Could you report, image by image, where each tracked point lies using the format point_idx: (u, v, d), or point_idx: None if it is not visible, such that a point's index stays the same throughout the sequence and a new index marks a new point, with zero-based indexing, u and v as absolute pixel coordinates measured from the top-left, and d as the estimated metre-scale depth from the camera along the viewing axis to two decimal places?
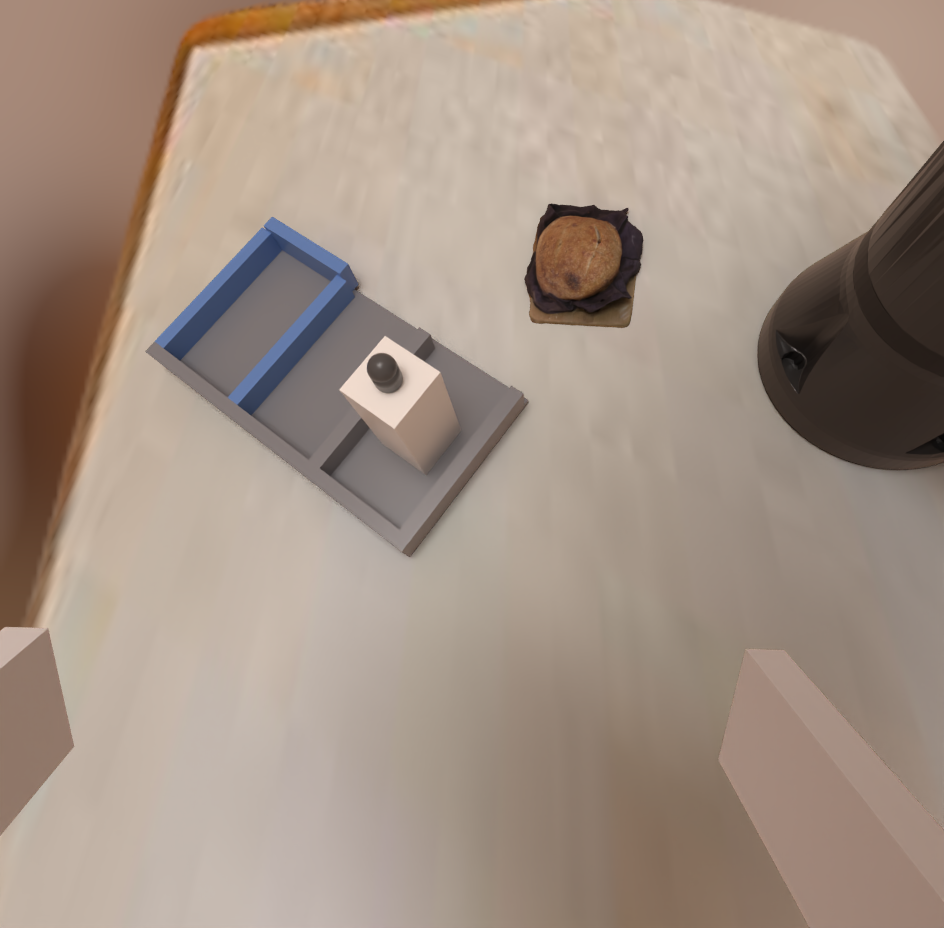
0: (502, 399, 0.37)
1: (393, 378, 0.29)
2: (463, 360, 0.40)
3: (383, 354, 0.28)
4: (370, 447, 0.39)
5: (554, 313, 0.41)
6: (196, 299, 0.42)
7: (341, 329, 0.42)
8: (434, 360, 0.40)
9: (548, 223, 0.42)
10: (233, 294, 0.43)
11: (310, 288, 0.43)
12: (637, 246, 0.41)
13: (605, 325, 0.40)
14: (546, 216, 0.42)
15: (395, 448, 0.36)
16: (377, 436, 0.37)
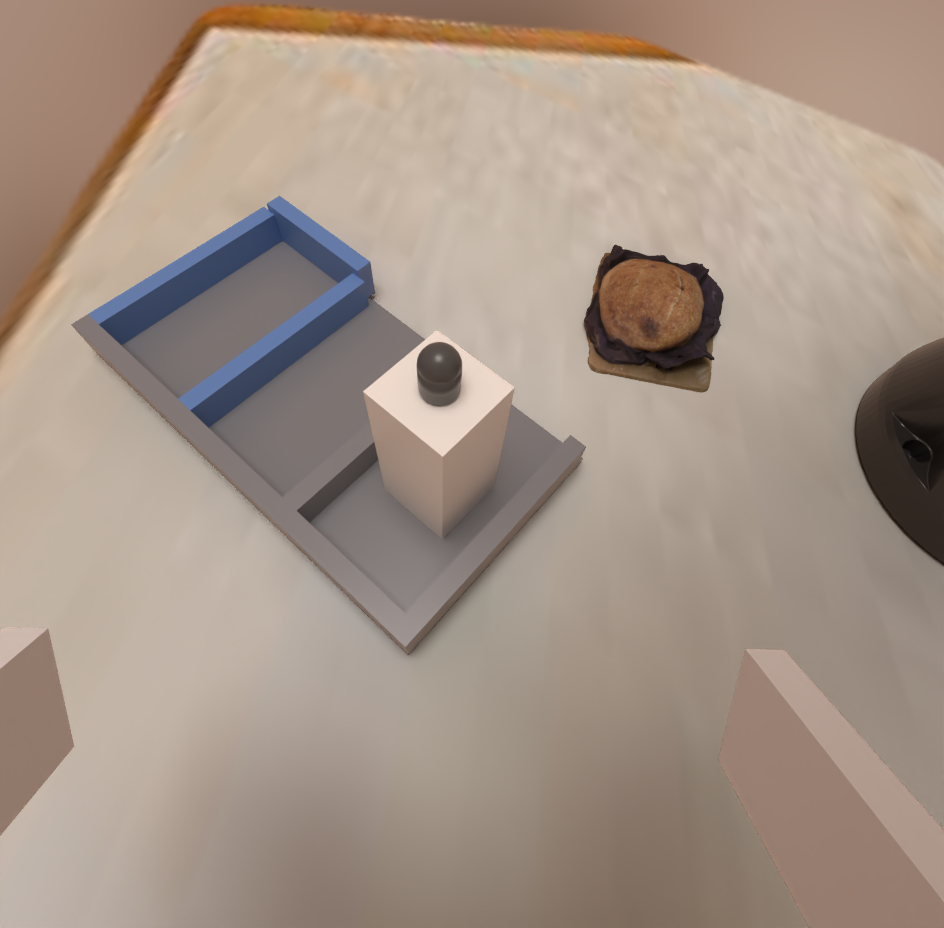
0: (558, 450, 0.28)
1: (454, 381, 0.19)
2: None
3: (446, 344, 0.19)
4: (368, 493, 0.28)
5: (619, 364, 0.33)
6: (159, 272, 0.32)
7: (346, 340, 0.33)
8: None
9: (614, 264, 0.36)
10: (210, 278, 0.33)
11: (312, 288, 0.34)
12: (717, 303, 0.35)
13: (680, 386, 0.33)
14: (613, 255, 0.35)
15: (410, 496, 0.26)
16: (385, 477, 0.27)
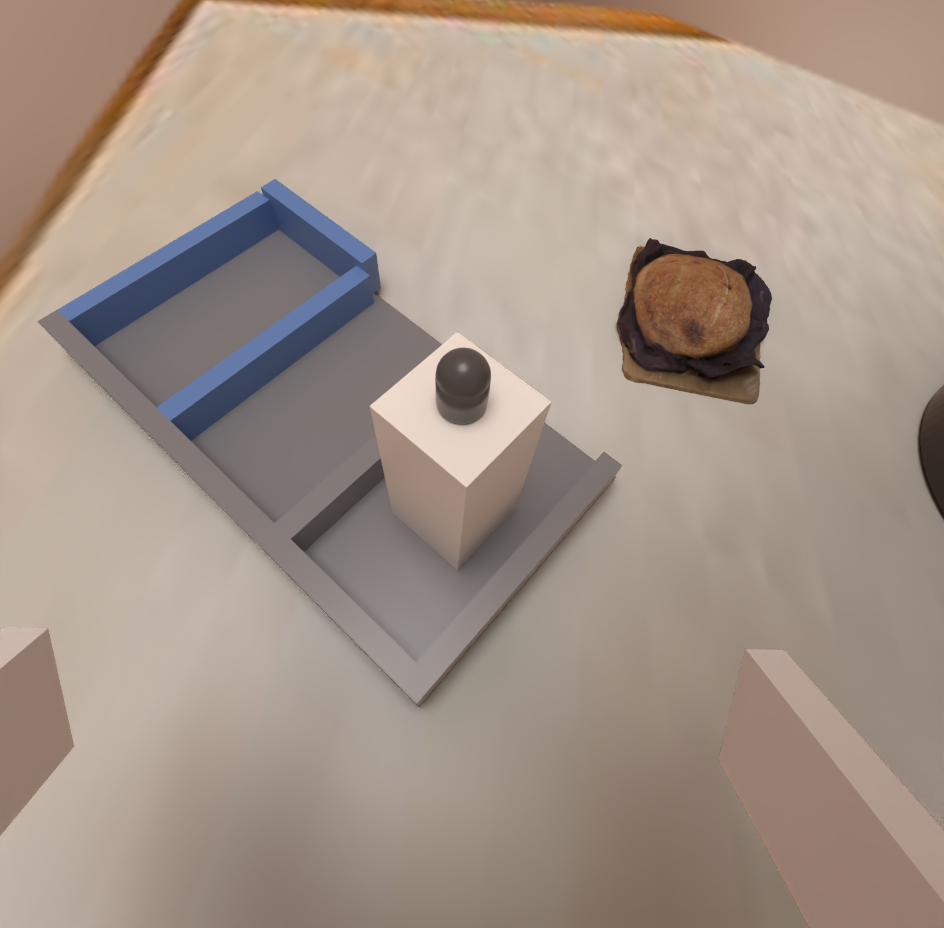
0: (591, 469, 0.24)
1: (481, 396, 0.16)
2: None
3: (472, 350, 0.15)
4: (373, 516, 0.25)
5: (657, 372, 0.29)
6: (139, 263, 0.28)
7: (349, 341, 0.29)
8: None
9: (650, 260, 0.32)
10: (197, 270, 0.30)
11: (311, 282, 0.31)
12: (765, 305, 0.31)
13: (725, 397, 0.29)
14: (649, 250, 0.32)
15: (422, 522, 0.22)
16: (392, 500, 0.23)
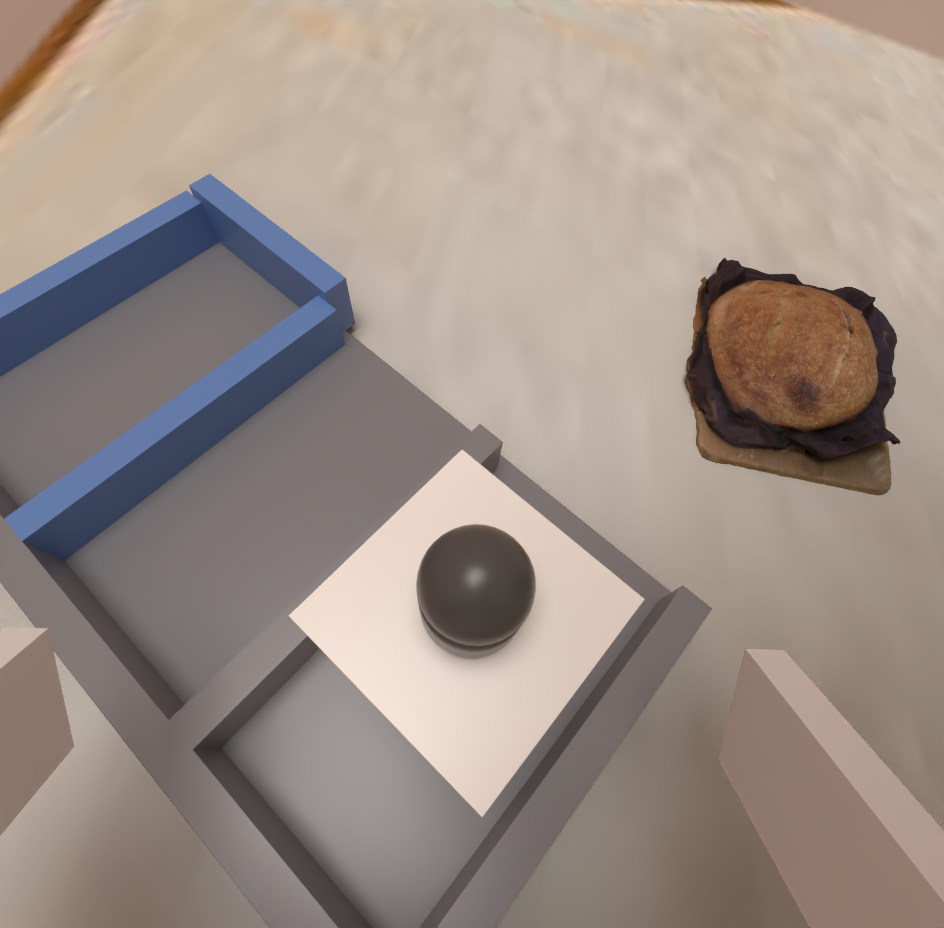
0: (665, 616, 0.16)
1: None
2: (554, 502, 0.19)
3: (497, 537, 0.07)
4: (333, 680, 0.16)
5: (747, 448, 0.21)
6: (7, 293, 0.20)
7: (308, 401, 0.21)
8: None
9: (727, 288, 0.24)
10: (99, 300, 0.22)
11: (259, 315, 0.22)
12: (889, 351, 0.23)
13: (845, 486, 0.21)
14: (727, 275, 0.23)
15: None
16: None
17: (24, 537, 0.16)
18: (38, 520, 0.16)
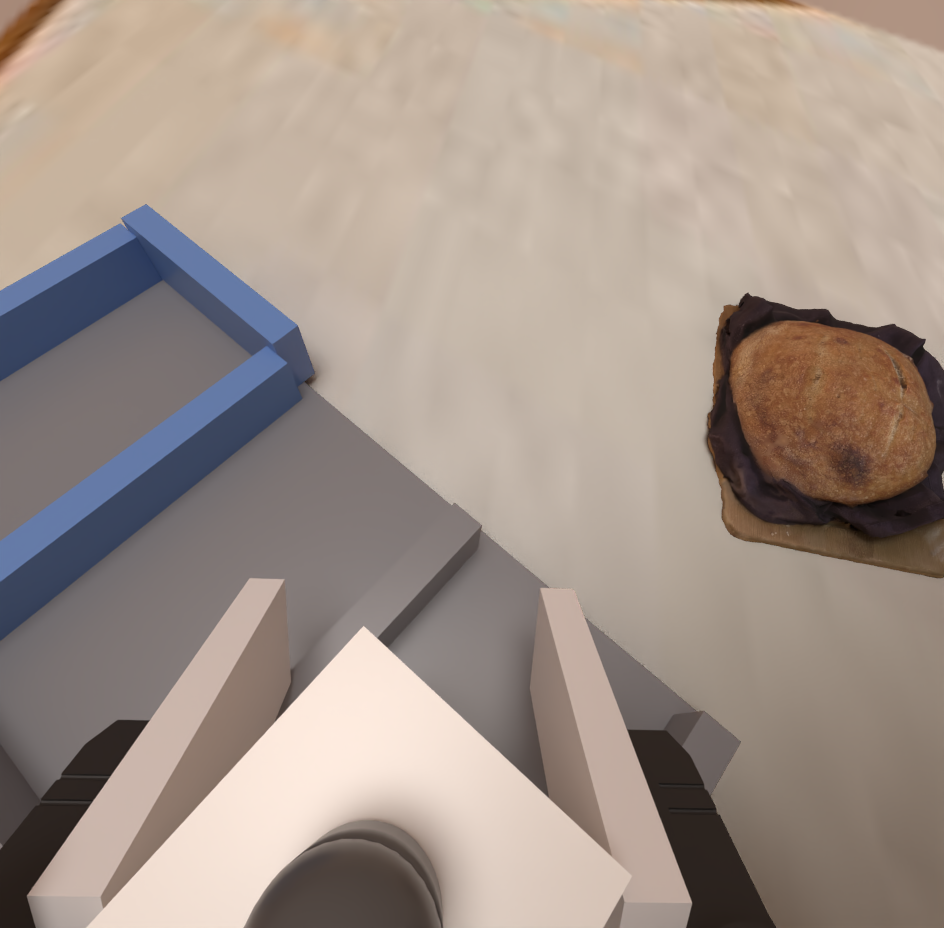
0: None
1: None
2: None
3: (366, 906, 0.04)
4: None
5: (782, 524, 0.18)
6: None
7: (257, 468, 0.18)
8: (474, 580, 0.16)
9: (752, 329, 0.20)
10: (16, 352, 0.19)
11: (204, 365, 0.19)
12: None
13: (900, 568, 0.17)
14: (751, 315, 0.20)
15: None
16: None
17: None
18: None
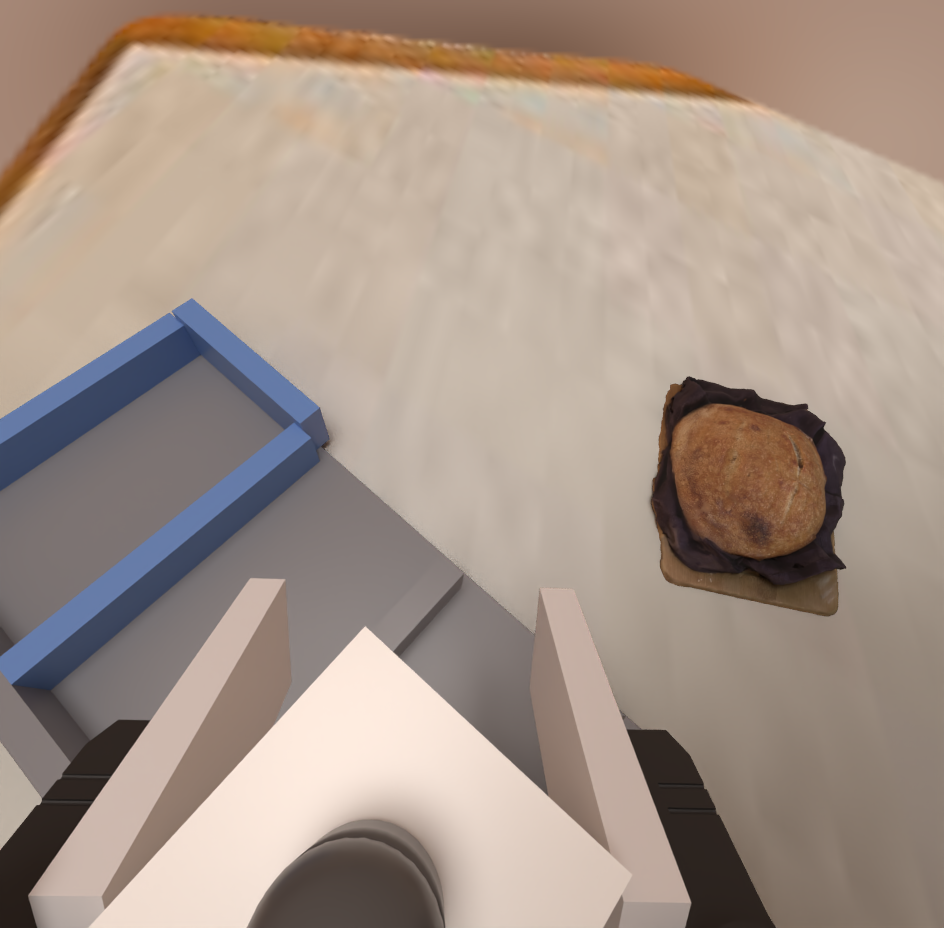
0: None
1: None
2: (514, 621, 0.21)
3: (369, 904, 0.04)
4: None
5: (706, 572, 0.23)
6: None
7: (284, 520, 0.22)
8: (458, 612, 0.21)
9: (690, 409, 0.25)
10: (84, 421, 0.23)
11: (238, 431, 0.24)
12: (839, 473, 0.24)
13: (796, 608, 0.22)
14: (689, 398, 0.25)
15: None
16: None
17: (13, 680, 0.17)
18: (26, 662, 0.17)
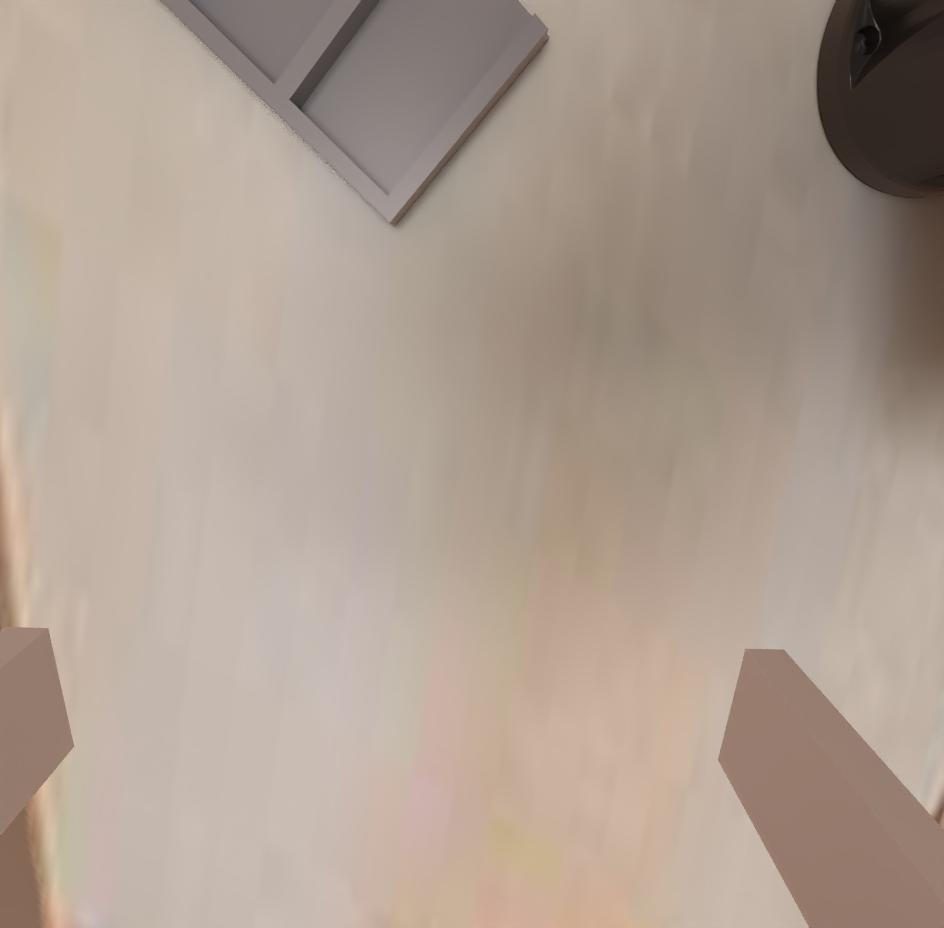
0: (521, 33, 0.29)
1: None
2: None
3: None
4: (348, 75, 0.32)
5: None
6: None
7: None
8: None
9: None
10: None
11: None
12: None
13: None
14: None
15: None
16: None
17: None
18: None
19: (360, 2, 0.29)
